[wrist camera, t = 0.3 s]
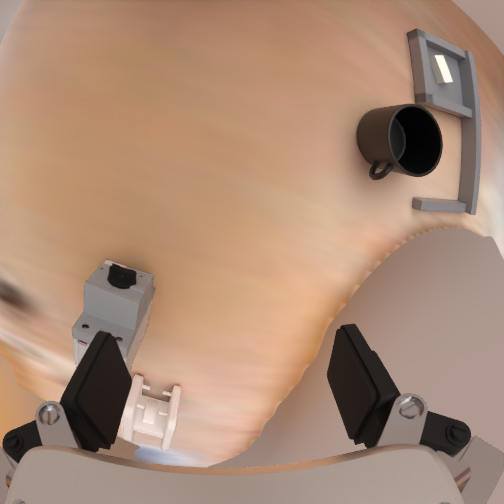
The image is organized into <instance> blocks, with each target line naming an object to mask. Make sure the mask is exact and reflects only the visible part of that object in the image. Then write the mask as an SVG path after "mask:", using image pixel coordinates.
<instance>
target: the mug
mask: <svg viewBox="0 0 504 504" xmlns="http://www.w3.org/2000/svg"><path fill="white" fill-rule="evenodd" d="M357 140H358V145H359V148H360V150H361V152H362V154H363V156H364V157H365V159H366V160H367V161H368V162H369V163H371V164H372V166H371V168H370V171H369V176H370V177H371V179H373V180H379V179H382V178H384V177H385V176H386V175H387V174H388V173H389V172H390V171H394V172H398V173H402V174H406V175H409V176H414V177H422V176H425V175H428V174H429V173H431V172H432V171H433V170H434V169H435V168H436V166H437V165H438V163H439V161H440V158H441V155H442V147H443V142H442V135H441V131H440V128H439V125H438V123H437V121H436V120H435V118H434V117H433V116H432V114H431V113H430V112H429V111H427V110H426V109H425V108H423V107H421V106H419V105H416V104H403V105H396V106H390V107H384V108H378V109H374V110H371V111H369V112H368V113H366V114H365V115H364V116H363V118H362V119H361V121H360V123H359V126H358V131H357ZM377 168H381V169H383V170H382V171H381V172H380V173H377V174H375V171H376V169H377Z"/></svg>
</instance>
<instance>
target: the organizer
mask: <svg viewBox="0 0 504 504" xmlns="http://www.w3.org/2000/svg"><path fill="white" fill-rule="evenodd" d="M407 35H408V41H409V47H410V53H411V60H412V68H413V78H414V89H415V103H416V104H420V105H424V106H427V107H430V108H434V109H437V110H440V111H443V112H446V113H449V114H452V115H455V116H458V117H461V118H462V158H461V175H460V187H459V197H458V201H457V200H445V199H431V198H414V197H413V206H412V207H414V208H416V209H419V210H421V211H448V212H466V213H468V214H470V215H475V214H476V207H477V200H478V191H479V180H480V166H481V114H480V100H479V90H478V81H477V74H476V68H475V62H474V57H473V53H471V52H470V51H468V50H467V51H463V50H461V49H460V48H458V47H456V46H454V45H452V44H450V43H448V42H446V41H444V40H442V39H440V38H438V37H435V36H433V35H431V34H429V33H426V32H424V31H422V30H419V29H417V28H416V29H414V30H412V31H410V32H408V33H407ZM434 55H443V56H444V59H445V61H446V64H447V66H448V69H449V72H450V75H451V78H452V80H453V82H449V83H440V84H438V83H437V80H436V78H435V75H434V72H433V69H432V67H431V64H430V62H429V57H431V56H434Z"/></svg>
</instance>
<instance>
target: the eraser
mask: <svg viewBox="0 0 504 504" xmlns="http://www.w3.org/2000/svg"><path fill="white" fill-rule="evenodd" d="M429 62H430V64H431V67H432V69H433V72H434V75H435V78H436V80H437V83H438V84H440V83H449V82H453V80H452V78H451V75H450V72H449V69H448V66H447V64H446V61H445V59H444V56H443V55H434V56H431V57H429Z"/></svg>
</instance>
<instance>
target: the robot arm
mask: <svg viewBox="0 0 504 504" xmlns="http://www.w3.org/2000/svg"><path fill="white" fill-rule="evenodd" d="M327 378H328V381H329V384H330V387H331V390H332V392H333V395H334V398H335V400H336V403H337V406H338V409H339V412H340V414H341V417H342V420H343V423H344V425H345V428H346V431H347V434H348V437H349V438H350V439H353V440H354V443H355V445H357V444H360V443H364V444H365V446H366V447H367V449H364V450H360V451H355V452H351V453H347V454H342V455H338V456H333V457H328V458H323V459H317V460H311V461H305V462H298V463H291V464H283V465H273V466H261V467H244V468H201V467H183V466H171V465H162V464H154V463H146V462H140V461H134V460H128V459H123V458H118V457H113V456H108V455H103V454H99V453H98V449H99V448H103V449H108V450H109V449H110V447H111V444H114V442H115V439H116V436H117V432H118V429H119V425H120V422H121V418H122V415H123V412H124V408H125V405H126V402H127V399H128V395H129V392H130V389H131V386H132V379H131V376H130V374H129V371H128V369H127V367H126V364H125V362H124V359H123V357H122V354H121V351H120V349H119V346H118V343H117V341H116V338H115V337H114V336H112V334H111V333H109V332H97V333H96V335H95V337H94V338H93V340H92V342H91V343H90V345H89V347H88V349H87V350H86V352H85V354H84V356H83V357H82V359H81V361H80V363H79V365H78V367H77V368H76V370H75V372H74V374H73V376H72V378H71V380H70V382H69V384H68V386H67V388H66V389H65V391H64V393H63V395H62V398H61V401H60V403H58V402H55V401H48V402H45V403H43V404H42V405H40V406H39V408H38V409H37V411H36V414H35V417H36V420H34V421H32V422H30V423H28V424H25V425H23V426H21V427H18V428H16V429H13V430H11V431H9V432H8V433H7V434H6V435H5V437H4V439H3V447H2V448H1V447H0V504H486V503H487V501H488V499H489V497H490V496H491V494H492V492H493V490H494V488H495V486H496V485H497V482H498V481H499V479H500V476H501V475H502V473H503V470H504V453H503V452H502V451H500V450H498V449H497V448H495V447H493V446H492V445H490V444H488V443H487V442H485V441H484V440H482V439H481V438H479V437H477V436H476V435H475V436H474V437H472V436H471V432H470V429H469V427H468V426H467V425H466V424H465V423H464V422H461V421H459V420H455V419H452V418H448V417H446V416H442V415H439V414H436V413H433V412H430V411H427V410H428V407H427V404H426V402H425V401H424V399H423V398H421V397H420V396H418V395H416V394H411V393H407V394H403V395H401V394H400V392H399V391H398V389H397V387H396V386H395V384H394V382H393V380H392V379H391V377H390V375H389V373H388V372H387V370H386V368H385V367H384V365H383V363H382V362H381V360H380V358H379V357H378V355H377V354H376V352H375V351H371V349H370V347H369V346H368V344H367V342H366V341H365V339H364V337H363V336H362V334H361V332H360V331H359V329H358V328H357V326H356V325H355V324H348V325H342V326H341V327H340V329H337V331H336V335H335V340H334V345H333V350H332V354H331V359H330V364H329V367H328V371H327Z"/></svg>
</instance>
